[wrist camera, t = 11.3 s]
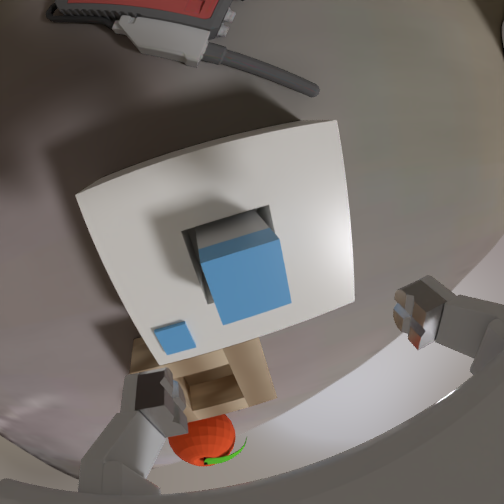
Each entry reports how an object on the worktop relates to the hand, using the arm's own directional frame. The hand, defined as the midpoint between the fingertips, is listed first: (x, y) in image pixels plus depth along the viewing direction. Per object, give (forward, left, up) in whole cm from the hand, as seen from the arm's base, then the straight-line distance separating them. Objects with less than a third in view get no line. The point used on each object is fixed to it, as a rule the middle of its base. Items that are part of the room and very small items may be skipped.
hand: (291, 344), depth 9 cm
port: (+1, 0, -12) cm, 12 cm away
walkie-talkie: (-1, -16, -13) cm, 20 cm away
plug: (0, 0, -11) cm, 11 cm away
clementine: (+9, +19, -13) cm, 24 cm away
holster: (+6, +11, -12) cm, 18 cm away
